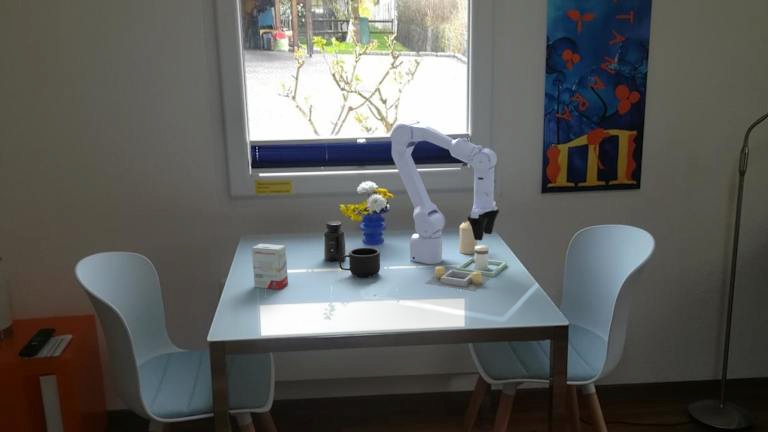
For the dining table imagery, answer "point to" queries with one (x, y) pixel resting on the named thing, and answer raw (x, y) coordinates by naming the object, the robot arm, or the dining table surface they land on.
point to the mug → (363, 262)
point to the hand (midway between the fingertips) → (483, 236)
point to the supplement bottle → (334, 242)
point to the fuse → (481, 257)
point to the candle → (467, 239)
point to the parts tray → (484, 273)
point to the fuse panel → (458, 279)
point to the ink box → (270, 266)
